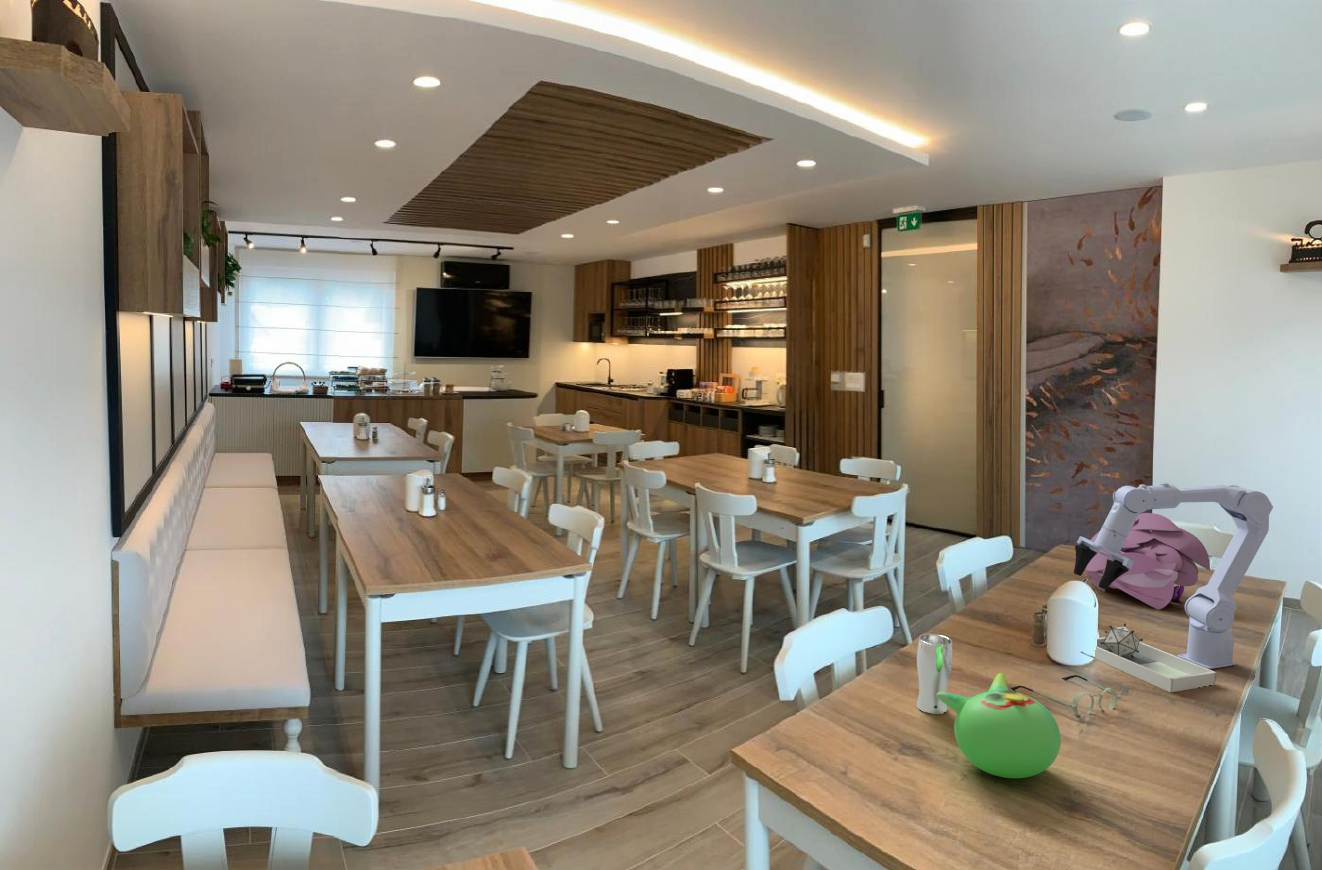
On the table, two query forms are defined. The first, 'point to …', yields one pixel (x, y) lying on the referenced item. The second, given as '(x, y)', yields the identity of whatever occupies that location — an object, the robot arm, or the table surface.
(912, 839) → the table surface
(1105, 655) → the shallow open box
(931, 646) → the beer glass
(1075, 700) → the eyeglasses
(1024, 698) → the green squishy toy
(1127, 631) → the game die
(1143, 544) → the pink rounded layered piece
